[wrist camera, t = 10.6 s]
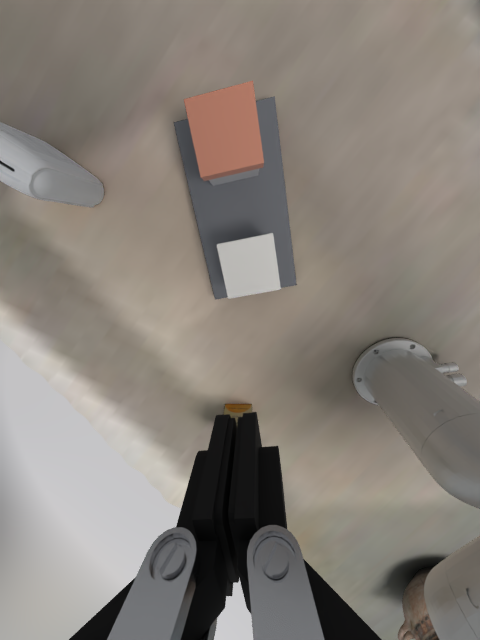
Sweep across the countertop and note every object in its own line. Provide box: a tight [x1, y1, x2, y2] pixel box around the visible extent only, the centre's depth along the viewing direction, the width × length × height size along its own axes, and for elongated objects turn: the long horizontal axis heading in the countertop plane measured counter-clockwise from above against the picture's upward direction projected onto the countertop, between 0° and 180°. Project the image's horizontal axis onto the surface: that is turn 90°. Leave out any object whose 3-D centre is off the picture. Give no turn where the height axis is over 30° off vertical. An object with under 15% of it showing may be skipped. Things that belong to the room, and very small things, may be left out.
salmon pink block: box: [184, 81, 264, 181], centre depth 26 cm, size 6×6×6 cm
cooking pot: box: [398, 567, 439, 640], centre depth 54 cm, size 25×19×12 cm
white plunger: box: [217, 233, 281, 299], centre depth 31 cm, size 6×6×6 cm
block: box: [174, 96, 297, 299], centre depth 31 cm, size 12×22×6 cm, turn 11°
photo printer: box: [0, 122, 104, 207], centre depth 27 cm, size 10×4×12 cm, turn 55°
